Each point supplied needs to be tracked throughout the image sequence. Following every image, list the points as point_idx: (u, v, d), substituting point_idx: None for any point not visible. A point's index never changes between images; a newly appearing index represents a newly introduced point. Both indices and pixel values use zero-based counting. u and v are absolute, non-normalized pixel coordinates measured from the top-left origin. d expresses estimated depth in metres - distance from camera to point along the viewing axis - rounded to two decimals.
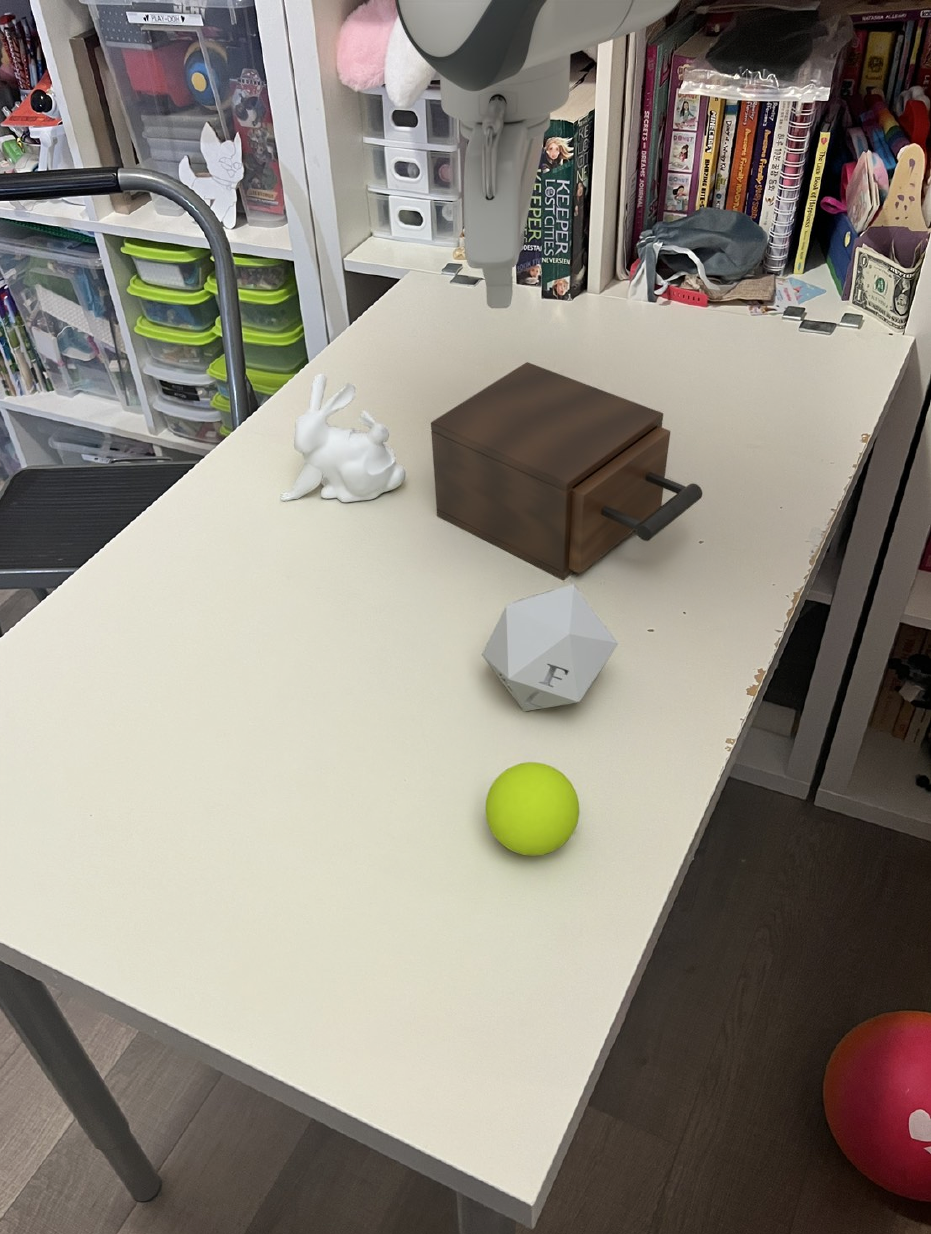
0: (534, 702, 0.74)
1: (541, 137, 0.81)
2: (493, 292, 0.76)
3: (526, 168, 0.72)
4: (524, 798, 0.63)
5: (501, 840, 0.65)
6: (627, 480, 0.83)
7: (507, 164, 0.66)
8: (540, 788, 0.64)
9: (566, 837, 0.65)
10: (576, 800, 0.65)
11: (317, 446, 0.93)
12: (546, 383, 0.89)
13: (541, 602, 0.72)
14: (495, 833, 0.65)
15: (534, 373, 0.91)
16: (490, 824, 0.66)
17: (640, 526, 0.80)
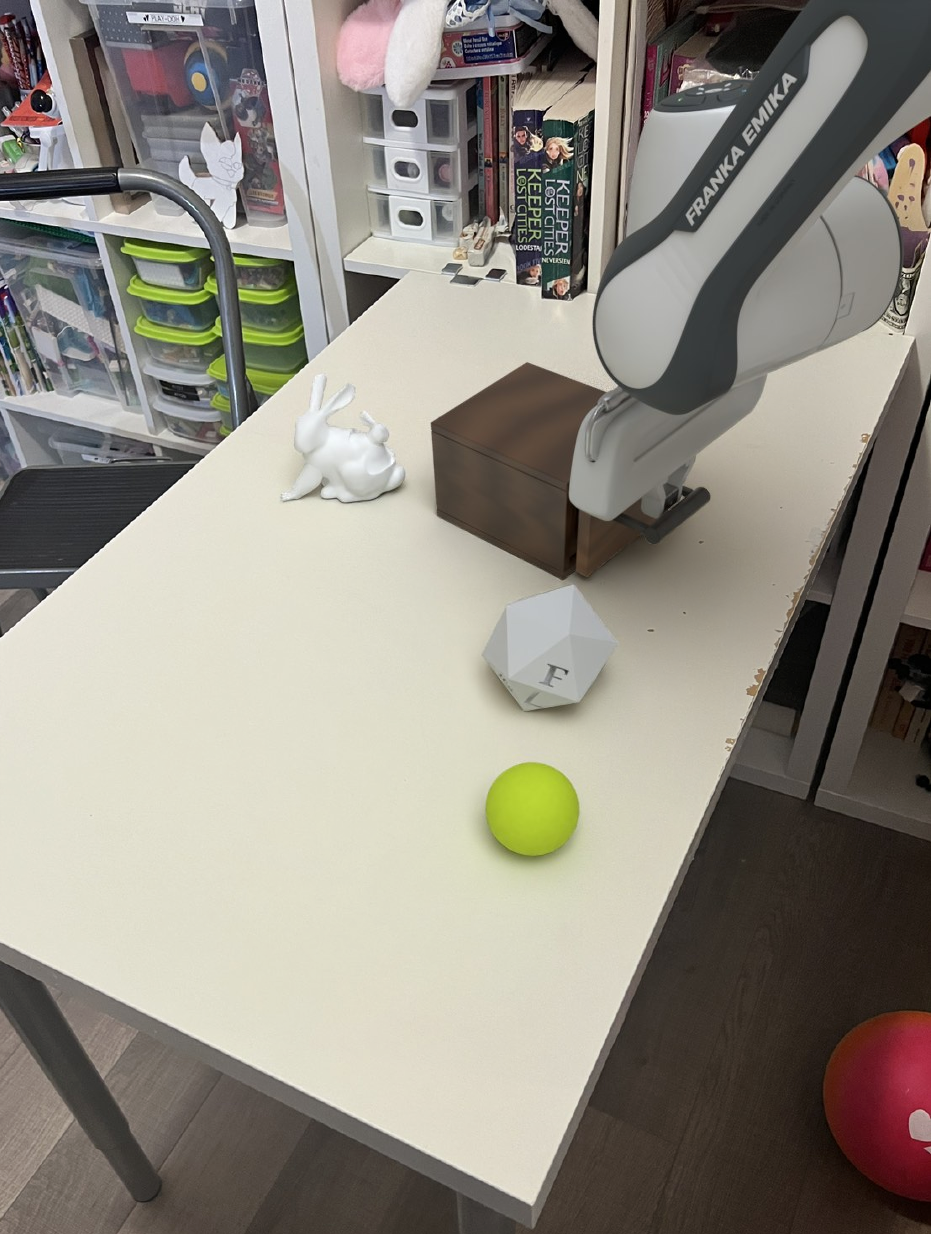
0: (534, 702, 0.74)
1: (757, 389, 0.80)
2: (646, 501, 0.81)
3: (674, 432, 0.74)
4: (524, 798, 0.63)
5: (501, 840, 0.65)
6: None
7: (611, 439, 0.69)
8: (540, 788, 0.64)
9: (566, 837, 0.65)
10: (576, 800, 0.65)
11: (317, 446, 0.93)
12: (546, 383, 0.89)
13: (541, 602, 0.72)
14: (495, 833, 0.65)
15: (534, 373, 0.91)
16: (490, 824, 0.66)
17: (648, 530, 0.80)
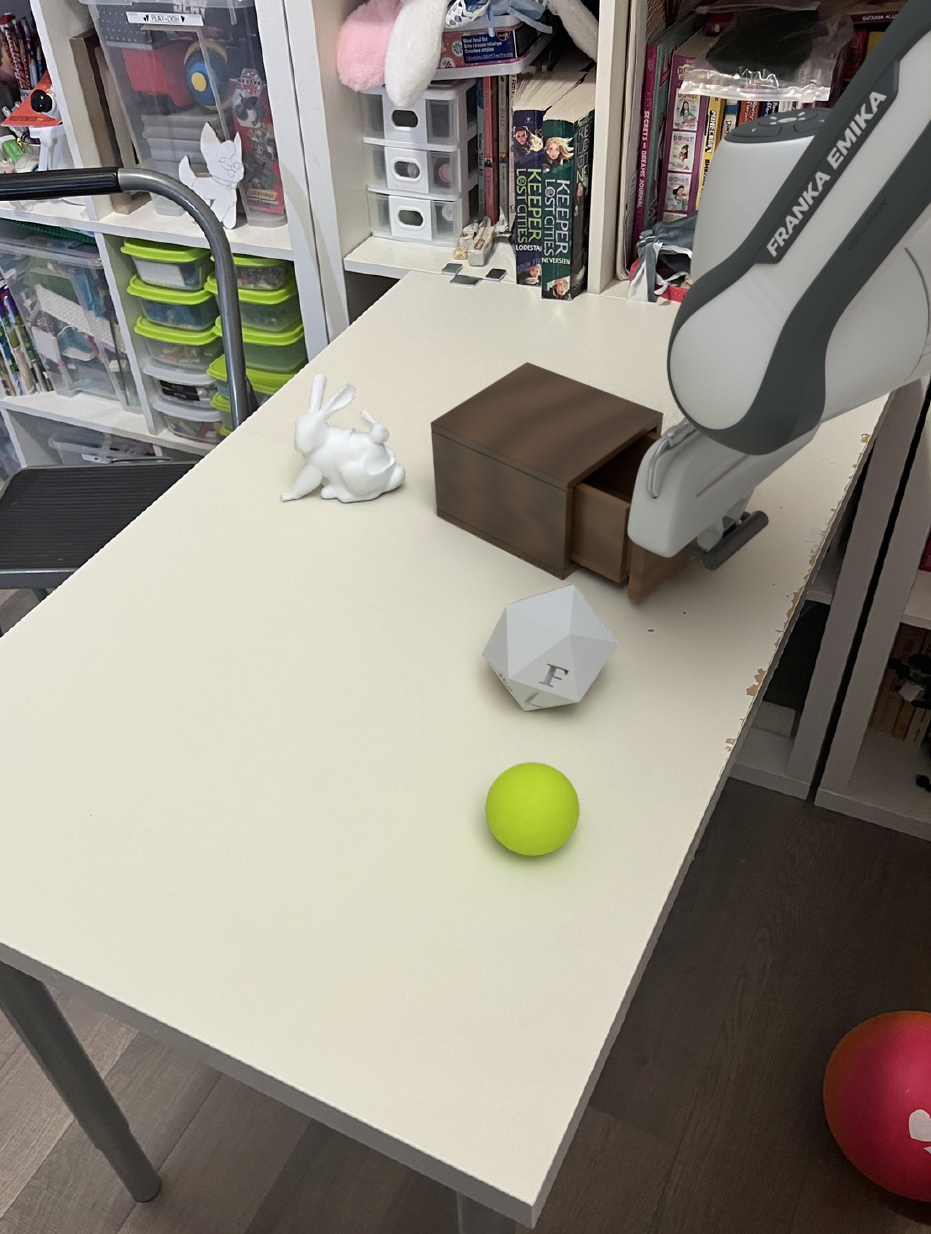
0: (534, 702, 0.74)
1: None
2: (703, 534, 0.79)
3: (736, 465, 0.72)
4: (524, 798, 0.63)
5: (501, 840, 0.65)
6: None
7: (675, 475, 0.67)
8: (540, 788, 0.64)
9: (566, 837, 0.65)
10: (576, 800, 0.65)
11: (317, 446, 0.93)
12: (546, 383, 0.89)
13: (541, 602, 0.72)
14: (495, 833, 0.65)
15: (534, 373, 0.91)
16: (490, 824, 0.66)
17: (706, 556, 0.77)
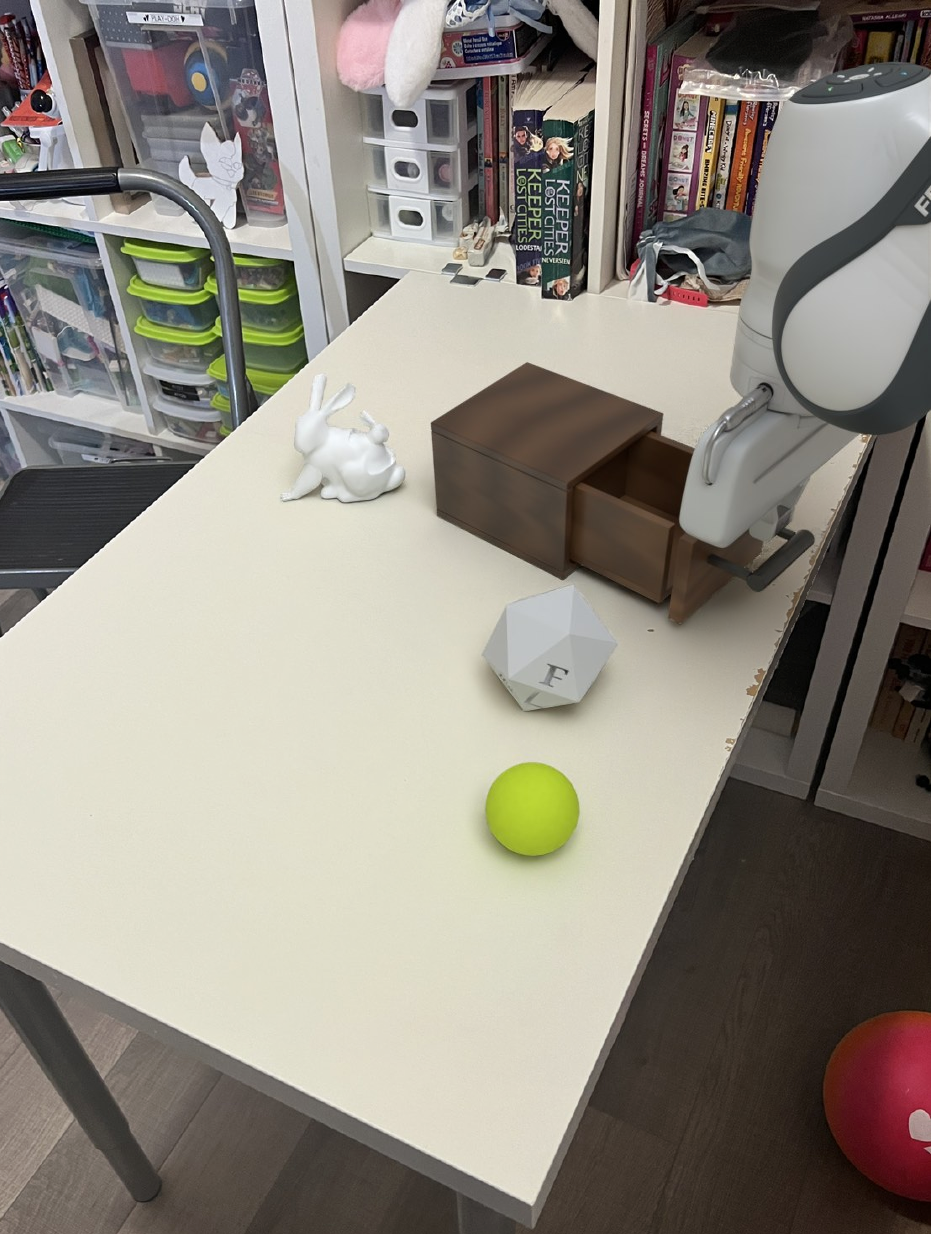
0: (534, 702, 0.74)
1: None
2: (756, 524, 0.75)
3: (795, 450, 0.68)
4: (524, 798, 0.63)
5: (501, 840, 0.65)
6: None
7: (732, 460, 0.63)
8: (540, 788, 0.64)
9: (566, 837, 0.65)
10: (576, 800, 0.65)
11: (317, 446, 0.93)
12: (546, 383, 0.89)
13: (541, 602, 0.72)
14: (495, 833, 0.65)
15: (534, 373, 0.91)
16: (490, 824, 0.66)
17: (752, 577, 0.75)
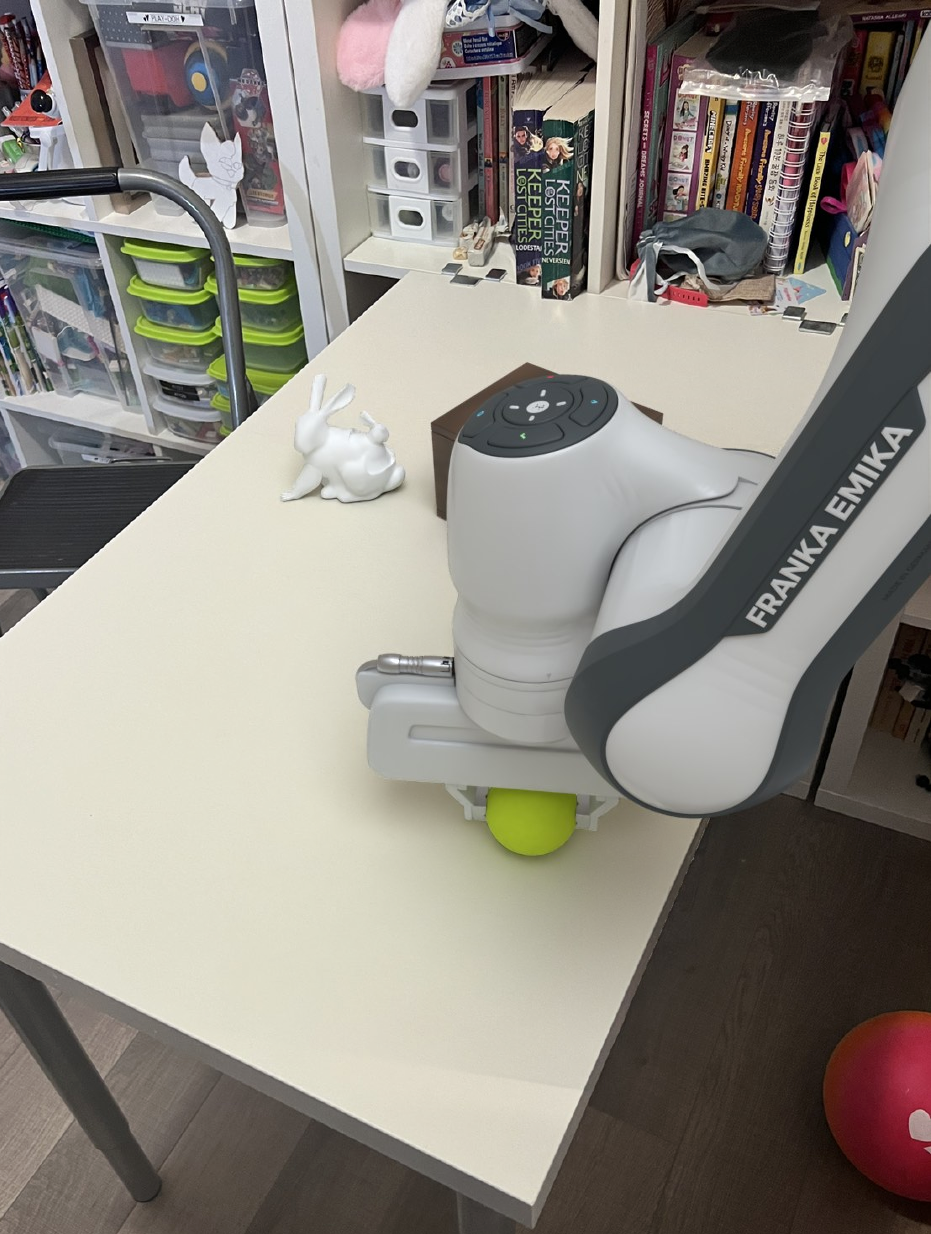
0: None
1: None
2: None
3: (493, 747, 0.60)
4: (523, 799, 0.64)
5: (500, 840, 0.65)
6: None
7: (374, 700, 0.60)
8: None
9: (565, 837, 0.65)
10: (575, 800, 0.65)
11: (317, 446, 0.93)
12: None
13: None
14: (495, 833, 0.65)
15: (534, 373, 0.91)
16: (490, 824, 0.66)
17: None
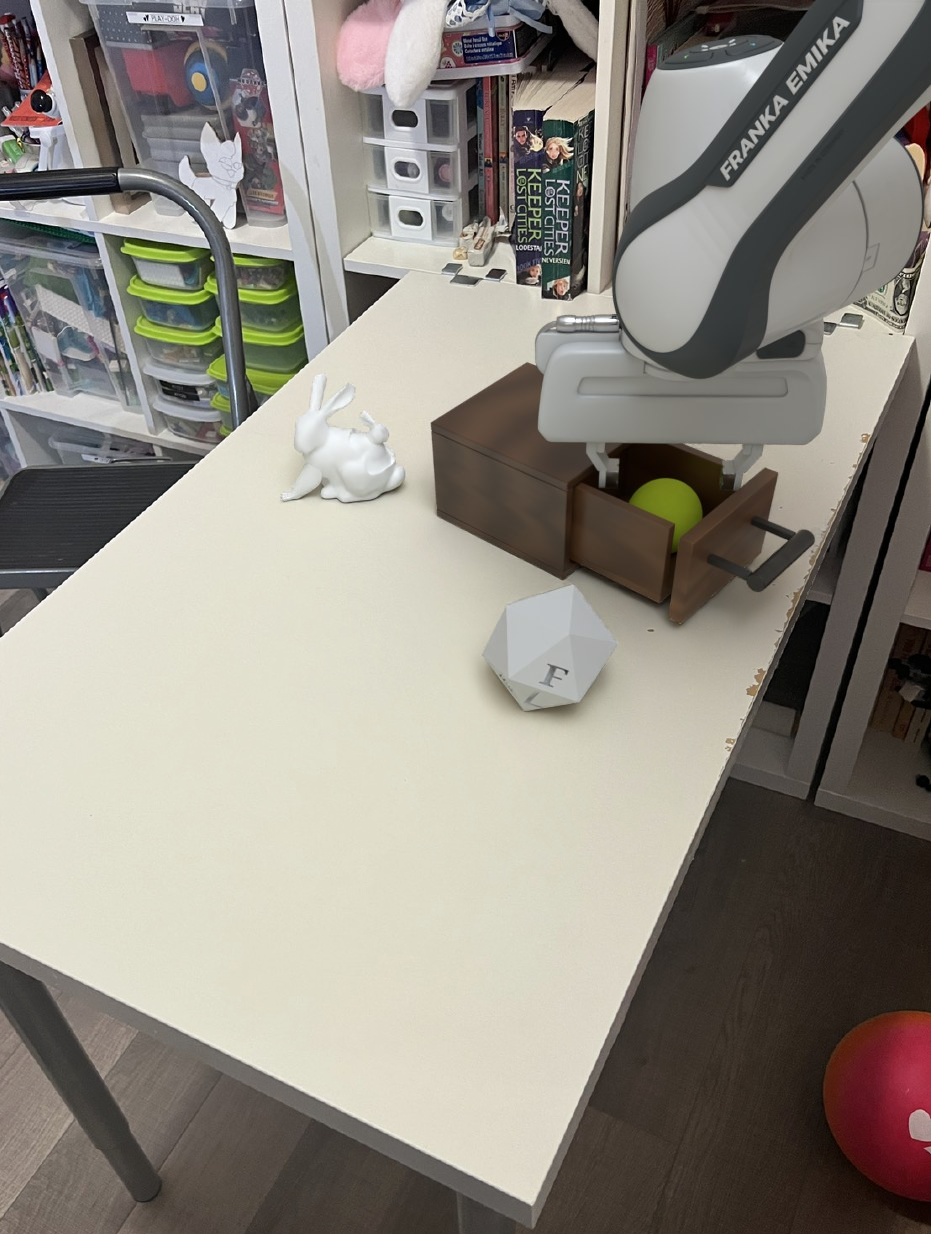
0: (534, 702, 0.74)
1: (806, 419, 0.72)
2: None
3: (648, 397, 0.73)
4: (664, 498, 0.80)
5: None
6: (734, 526, 0.78)
7: (551, 358, 0.73)
8: (677, 491, 0.80)
9: None
10: (701, 507, 0.81)
11: (317, 446, 0.93)
12: None
13: (541, 602, 0.72)
14: None
15: (534, 373, 0.91)
16: None
17: (752, 577, 0.75)
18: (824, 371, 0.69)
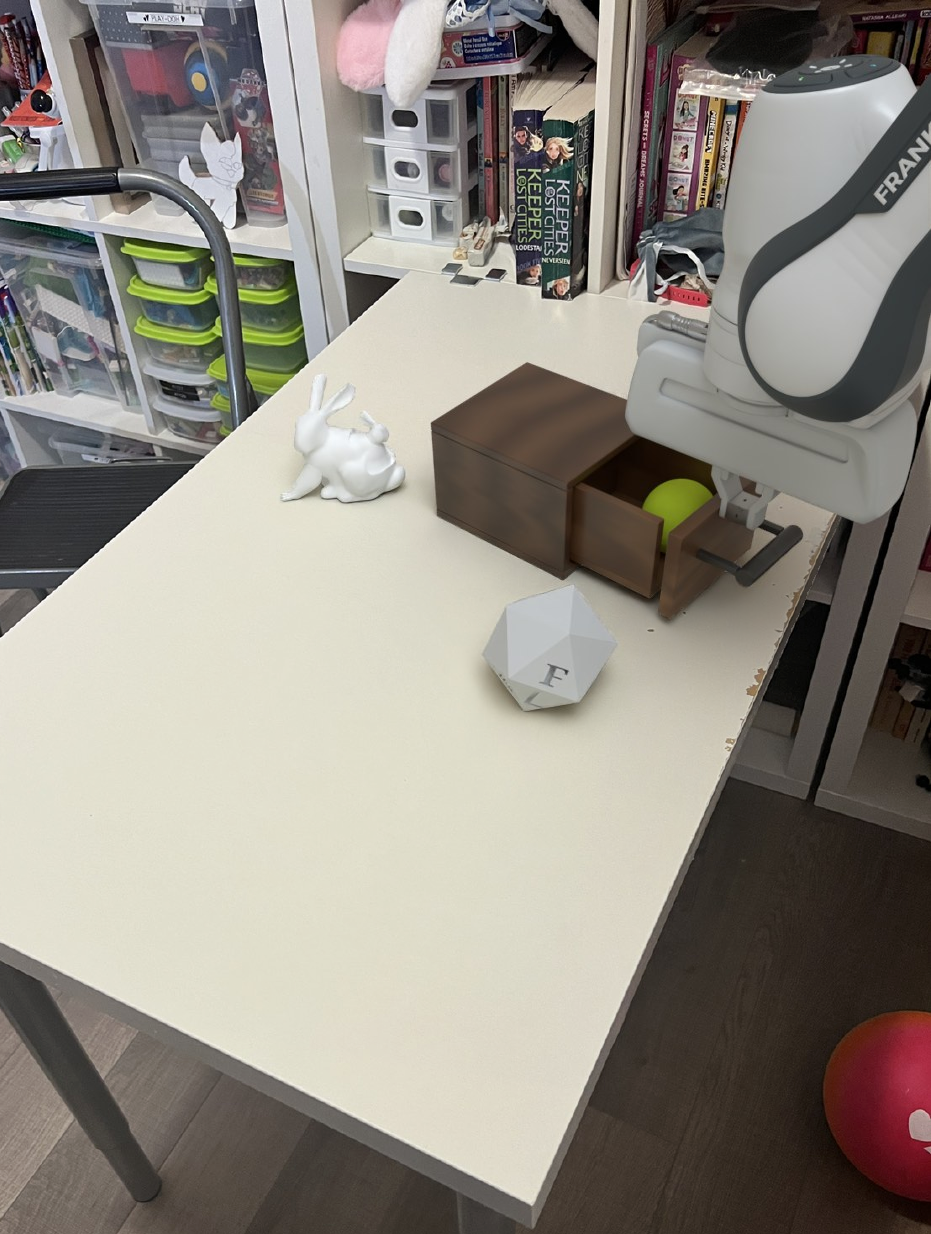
0: (534, 702, 0.74)
1: (862, 496, 0.66)
2: None
3: (719, 418, 0.71)
4: None
5: None
6: (723, 521, 0.78)
7: (644, 349, 0.73)
8: None
9: None
10: None
11: (317, 446, 0.93)
12: (546, 383, 0.89)
13: (541, 602, 0.72)
14: None
15: (534, 373, 0.91)
16: None
17: (741, 571, 0.75)
18: (882, 449, 0.63)
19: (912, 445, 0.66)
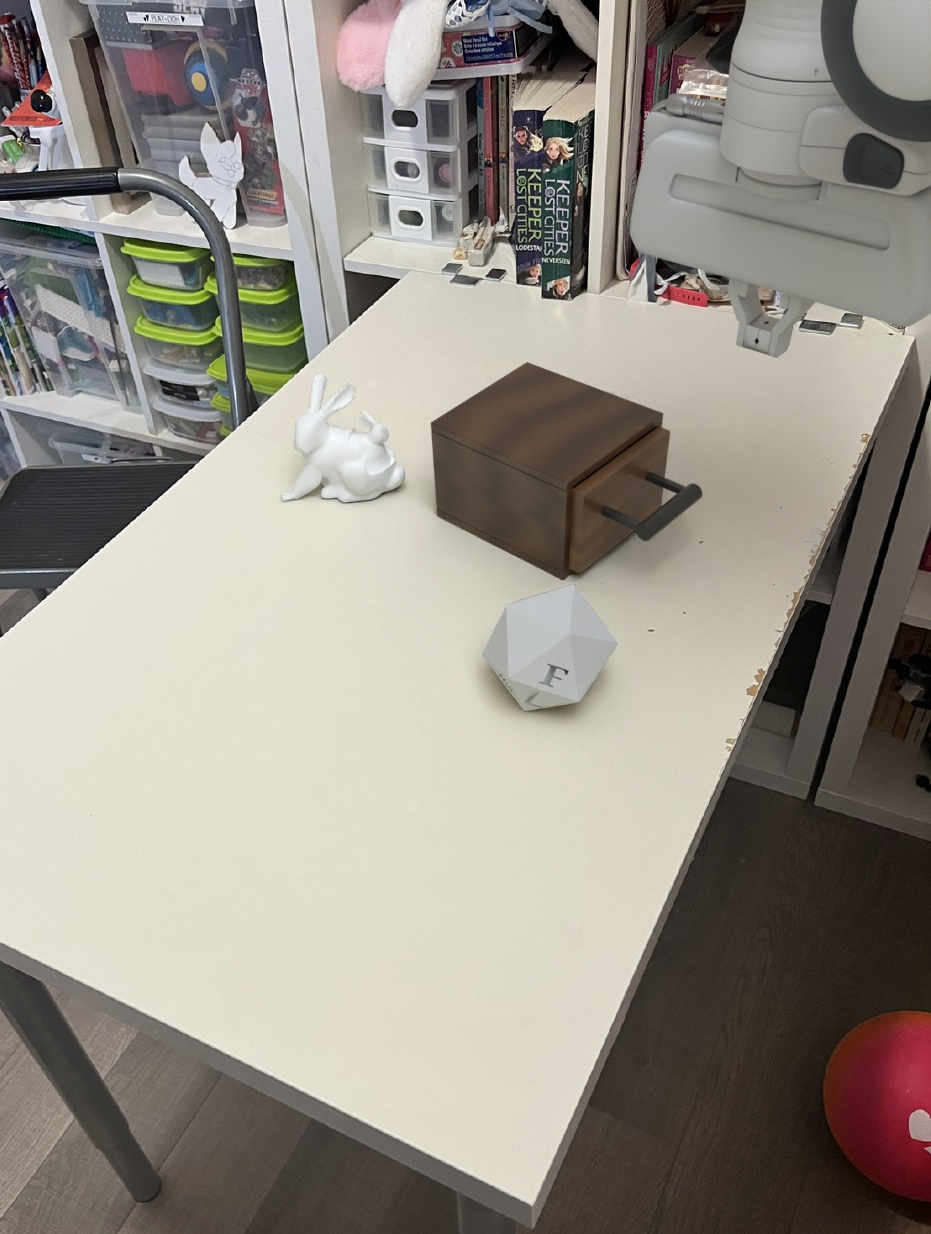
0: (534, 702, 0.74)
1: (905, 289, 0.57)
2: None
3: (738, 215, 0.62)
4: None
5: None
6: (627, 480, 0.83)
7: None
8: None
9: None
10: None
11: (317, 446, 0.93)
12: (546, 383, 0.89)
13: (541, 602, 0.72)
14: None
15: (534, 373, 0.91)
16: None
17: (640, 526, 0.80)
18: None
19: None
